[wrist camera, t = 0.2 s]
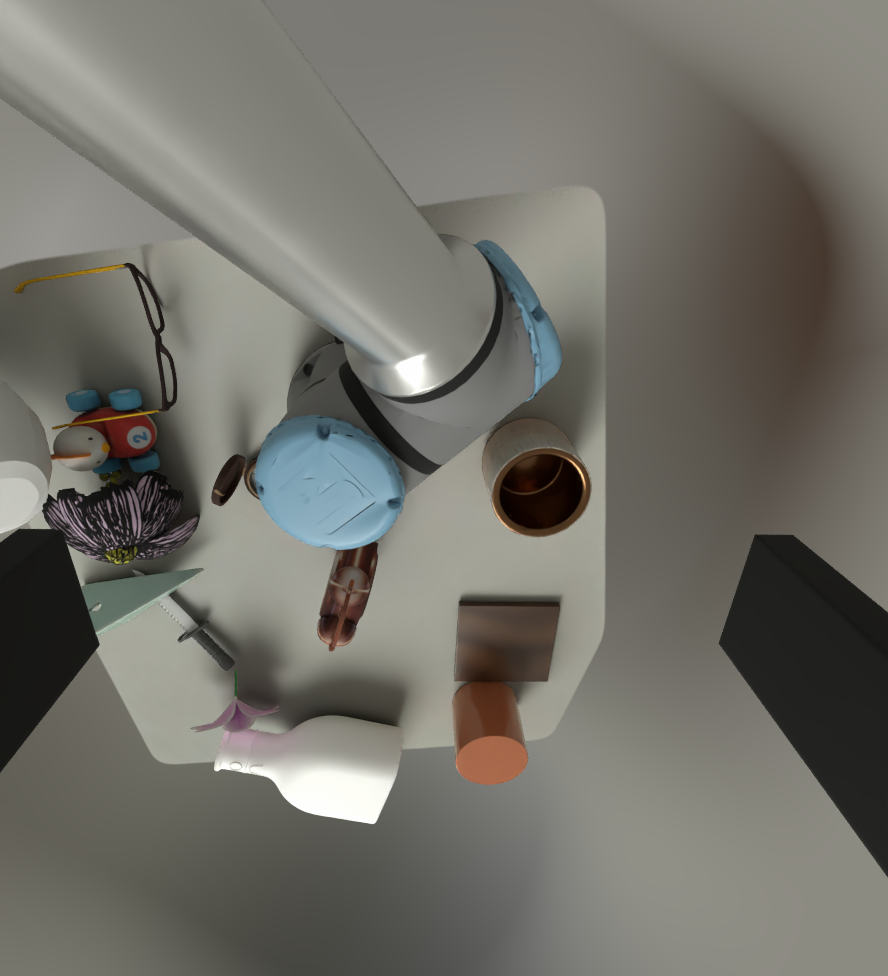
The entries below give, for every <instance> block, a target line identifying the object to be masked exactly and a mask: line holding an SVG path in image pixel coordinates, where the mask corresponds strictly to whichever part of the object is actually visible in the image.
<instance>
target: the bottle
mask: <svg viewBox="0 0 888 976" xmlns="http://www.w3.org/2000/svg"><path fill="white" fill-rule="evenodd" d="M401 750H402V730H401V728H400V727H395V726H390V725H385V724H380V723H375V722H370V721H365V720H360V719H355V718H350V717H344V716H336V715H329V716H320V717H316V718H313V719H310V720H307V721H305V722H303V723H301V724H299V725H298V726H296V727H295V728H294V729H292V730H290V731H288V732H286V733H281V734H274V733H269V732H263V731H258V729H257V730H253V729H246V730H244V731H241V732H229V731H226V730H225V733H224V735H223V738H222V741H221V744H220V747H219V750H218V753H217V757H216V760H215V765H214V770H215V771H219V770H220V769H228V770H234V771H239V772H244V773H251V774H256V775H262V776H266V777H268V778H270V779H271V780H273V781H274V782H275V783H276V785H277V787H278V789H279V790H280V792H281V794H282V795H283V796H284V797H285V799H287V801H289V802H290V803H291V804H292V805H294V806H295V807H297V808H299V809H301V810H303V811H305V812H308V813H311V814H316V815H322V816H328V817H334V818H341V819H346V820H353V821H358V822H365V823H371V824H374V823H375V822H376V821H377V819H378V817H379V814H380V812H381V810H382V808H383V805H384V803H385V801H386V798H387V796H388V794H389V792H390V790H391V787H392V785H393V783H394V780H395V778H396V775H397V771H398V767H399V762H400V757H401Z"/></svg>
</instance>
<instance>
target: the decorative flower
mask: <svg viewBox="0 0 888 976" xmlns="http://www.w3.org/2000/svg"><path fill="white" fill-rule="evenodd" d="M121 475H122V472H121V470H119V469H118V470H116V471H114V472H112V475H109V473H107V474H99V478H100V479H101V480H103V481H107V480H108V479H109V477H110V482H109V483H107V484H106V487H101V491H97V492H94V493H91V495H89V496H84V494H80V493H78V492H76V491H75V488H70V489H63V490H59V492H58V493H57V501H56V500H55V499H54V498H53V497H52V496H51V495H49V494H48V499H47V502H46V503H44V504H43V508H44V509H43V510H42V512H43V514H44V518H45V520H46V522H47V523H48V525H49V526H50V527H51V529H62V531H63V534H64V537H65V540H66V543H67V544H68V545H69V546H71V547H73V548H74V549H76V550H78V551H80V552H82V553H84V554H85V555H88V556H90V557H91V558H93V559H96V560H99V561H103V562H108V563H114V564H117V565H119V564H122V565H123V564H127V563H129V562H131V561H132V560H133V559H135V560H151V559H156V558H160V557H162V556H165V555H167V554H170V553H172V552H173V551H175V550H177V549H178V548H179V547H181V546H182V545H183V544H184V543H185V542H186V541H187V540H188V539H189V538H190V537H191V536H192V534H193V533H194V531H195V530H196V528H197V526H198V523H199V518H200V515H196V516H194V517H193V518H192V519H189V520H188V521H186V522H185V523H184V524H182V525H181V526H178V527H176V528H174V529H172V530H171V531H170V532H168V533H166V532H167V530H168V529H169V528H170V527H171V525H172V524H173V522H174V521H175V519H176V517H177V515H178V513H179V511H180V508H181V506H182V503H183V499H184V496H183V492H182V493H181V490H180V491H177V490H176V489H175V490H174V489H171V485H170V484H168V482H167V476H165V475H162V474H160V473H158V472H156V471H155V472H154V471H153V470H150V471H149V470H148V471H146V472H145V473H144V474H143V475H142V476H141V477H140V478H139V480H138V481H137V484H136V487H134V485H133V484H132V482H131V481H130V480H129V478H128V479H127V480H126V481H125V482H123V483H122V484H118V482H117V480H116V479H115V478H120V477H121ZM114 477H115V478H114ZM165 533H166V534H165ZM163 534H164V535H163Z"/></svg>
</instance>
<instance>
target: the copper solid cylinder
mask: <svg viewBox="0 0 888 976" xmlns="http://www.w3.org/2000/svg"><path fill="white" fill-rule="evenodd" d="M452 710H453V726H454V742H455V758H456V766H457V769H458V771H459V773H460V774H461V775H462V776H463V777H464V778H466V779H467V780H469V781H472V782H475V783H479V784H485V785H491V784H499V783H504V782H507V781H509V780H511V779H513V778H515V777H516V776H518V775H519V774H520V773H521V772H522V771H523V770H524V769H525V767H526V765H527V762H528V754H527V749H526V744H525V739H524V734H523V729H522V724H521V719H520V714H519V709H518V704H517V699H516V695H515V693H514V691H513V690H512V689H511V688H510V687H509V686H508V685H507V684H505V683H503V682H500V681H473V682H470V683H468V684H466V685H464V686H463V687H461V688H460V689H459V690H458V691H457V693H456V694H455V696H454V698H453V701H452Z"/></svg>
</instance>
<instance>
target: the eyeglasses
mask: <svg viewBox="0 0 888 976" xmlns="http://www.w3.org/2000/svg"><path fill="white" fill-rule="evenodd" d="M125 268H129V269H130V271H131V273H132V275H133V277H134V279H135V282H136V284H137V287H138V290H139V292H140V295H141V298H142V302H143V305H144V308H145V311H146V314H147V318H148V321H149V324H150V327H151V329H152V332H153V334H154V336H155V346H156V355H157V361H158V367H159V374H160V381H161V389H162V408H161V409H155V410H151V411H147V412H140V413H134V414H127V415H121V416H115V417H108V418H102V419H95V420H89V421H82V422H76V423H70V424H64V425H60V426H56V427H53V428H52V429H59V428H62V427H66V426H72V425H78V424H85V423H91V422H97V421H104V420H110V419H117V418H123V417H130V416H136V415H143V414H150V413H156V412H165V411H168V410H169V409H170V407H171V406H173V405H174V404H175V403H176V400H177V379H176V372H175V367H174V362H173V359H172V356H171V354H170V353H169V351H168V350H167V349H166V348H165V347H164V345H163V344H162V338H161V336H160V333H161V332H162V331H163V330H164V327H165V324H164V319H163V315H162V312H161V308H160V305H159V302H158V300H157V297H156V295H155V293H154V291H153V289H152V287H151V285H150V283H149V281H148V280H147V278H146V277H145V276H144V275H143V274H142V273H141V272H140V271H139V270H138V269H137V268H136V266H135V265H133V264H131V263H125V264H121V265H114V266H108V267H101V268H95V269H90V270H84V271H78V272H72V273H66V274H60V275H54V276H48V277H42V278H36V279H32V280H28V281H25V282H23V283H21V284H20V285H19V286H18V287H17V288H16V289H15V290H14V292H15V293H21V292H22V291H23V289H24V286H26V285H27V284H30V283H33V282H38V281H44V280H50V279H57V278H63V277H69V276H76V275H82V274H89V273H95V272H102V271H110V270H116V269H125ZM138 276H139V277H140V278H141V279H142V280H143V281H144V282H145V284H146V285H147V287H148V289H149V291H150V293H151V295H152V297H153V299H154V302H155V304H156V307H157V311H158V314H159V319H160V328H159V329H158V330H157V329H156V328H155V326H154V323H153V320H152V317H151V314H150V311H149V307H148V304H147V301H146V298H145V295H144V292H143V289H142V286H141V283H140V280H139V278H138ZM160 352H162V353H164V354H165V355H166V356H167V357H168V359H169V362H170V366H171V370H172V376H173V399H172V401H171V402H168V401H167V396H166V387H165V380H164V373H163V367H162V361H161V354H160Z"/></svg>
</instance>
